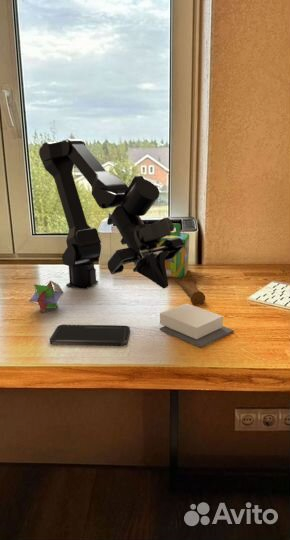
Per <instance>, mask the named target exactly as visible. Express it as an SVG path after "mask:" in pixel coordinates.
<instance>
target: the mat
mask: <svg viewBox="0 0 290 540" xmlns="http://www.w3.org/2000/svg"><path fill="white" fill-rule="evenodd" d="M159 330H160V331H162V332H164V333H166V334H169V335H171V336H174V337H175V338H177V339H180V340H182V341H185V342H187V343H189V344H192V345H193V346H196V347H198V348H201V349H203V348H204V347H206V346H209V345H211V344H212V343H215V342H216V341H218V340H220V339H222V338H225V337H227V336H228V335H231V334H232V333H234V332H235V331H234V329H232V328H229V327H226V326H224V325H223V326H222V328H220V329H217V330H215V331H213V332H211V333H209V334H207V335H205V336H203V337H201V338H199V339H194V338H192V337H189V336H187V335H185V334H182V333H180V332H178V331H175V330H173V329H171V328H168V327H166V326H161V327H160V328H159Z"/></svg>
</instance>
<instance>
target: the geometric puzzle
mask: <svg viewBox="0 0 290 540" xmlns="http://www.w3.org/2000/svg"><path fill="white" fill-rule="evenodd" d="M46 284H47V285H46ZM33 287H34V289H35V293H34V294H33V293H31V296H30V298H29V302H30V303H31V304H35V305H37V306H39V309H40V313H41V314H44V313H47V312H51V311H52V310H49V309H50V308H52V309H59V306H60V305H59V304H61V299H62V296H63V294H64V290H63V289H62V288H61V286H60V285H59V284H58V283H56V282H54V281H52V280H49V281H48V282H46V283H45V284H43V285H42V284H34V285H33ZM32 294H33V295H32ZM59 299H60V302H59V304H58V301H59ZM46 308H47V309H46ZM45 309H46V310H45Z"/></svg>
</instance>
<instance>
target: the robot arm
mask: <svg viewBox="0 0 290 540" xmlns="http://www.w3.org/2000/svg"><path fill="white" fill-rule="evenodd" d="M38 152H39V159H40V160H41V162H42V164H43V167H44V170H46V171H47V173H48V174H50V176H51V177H53V179H54V182H55V186H56V190H57V193H58V195H59V199H60V202H61V207H62V210H63V213H64V216H65V220H66V224H67V227H68V232H67V236H66V239H65V240H66V241H65V242H66V246H67V247H66V248H65V250H64V252H63V253H62V255H61V260H62V264H63V265H65V266H67V267H68V275H69V276H68V277H69V278H68V279H69V282H68V283H66V285H65V286H66V287H70V288H76V289H82V290H86V289H89V288H91V287H93V286H95V285H97V284H99V280H97V272H96V271H97V269H96V268H95V263H98V262H99V261H100V256H101V252H102V244H101V243H102V241H101V239H100V237H99V231H98V229H97V228H96V227H91V226H90V225H89V224H88V221H87V219H86V216H85V212H84V209H83V206H82V202H81V199H80V195H79V192H78V191H79V190H78V189H77V185H76V181H75V179H74V175H73V169H74V167H76V168H77V170H78V171H79V173H80V174H81V175H82V176H83V177H84V179H85V180H86V181H87V182H88V183H89V185H90V186H91V196H92V197H93V199H94V200H95V202H96V204H97V205H98V207H99V208H100V209H105V210H106V209H113V208H114V209H113V210H112V212H109V213H108V218H107V221H106V222H107V225H108V226H109V225H115V227H116V229H117V230H118V232H119V234H120V237H122V238H121V239H120V243H121V245H123V246H124V245H126V246H127V247H125V248H121V249H117V250H116V251H115V252H114V253H113V254H112V256H111V257H110V258H109V260H108V262H107V268H108V271H109V273H110V274H111V275H116V274H119V273H123V271H124V265H127V264H131V263H133V265H134V268H133V269H132V271H133V273H138V274H140V275H142V276H144V277H145V278H147V279H148V280H150V281H152V282H153V283H155V284H156V285H157V286H159V287H161V288H162V289H163V290H164V289H167V288H168V287H169V286H170V285H169V281H168V277H167V274H166V269H165V260H169V259H171V258H173V257H174V256H175V255H176V254H177V253H178V252H179V251H180V250H181V249H182V248H183V247H184V246H185V245H184V243H183V241H182V240H181V238H178V237H175V238H170V239H166V240H165V241H164V242H163V244H162V245H161V246H160V247H157V246H156V245H157V244H159V243H160V242H161V239H160V238H163V237H165V236H170V235H171V232H174V230H175V228H174V225H173V224H174V223H173V221H172V220H171V219H170V218H169V217H163V218H162V219H158V221H156V222H153V223H144V221H143V219H142V218H141V217H142V216H145V215H146V214H147V213H148V212H149V211H150V209H151V208H152V206H154V204H155V202H156V201H157V200H158V199H159V198H160V194H161V193H160V190H159V188H158V186H157V185H155V184H154V183H153V182H151V181H150V180H147V179H145V177H143V175H134V177H133V179H132V180H131V183H130V184H129V186H128V184H126V182H124V180H122V179H121V178H119V177H117V176H115V175H113V174H111V173H109V172H108V171H107V170H106V169H105V168H104V166H102V164H101V163H100V161H98V160H97V158H96V157H95V156H94V155H93V154H92V152H91V151H90V150H89V149H88V147H87V146H86V143H85V142H84V140H83V139H80V138H79V139H78V138H76V139H75V138H67V139H64V140H63V139H62V140H60V141H53V142H52V141H48V142H47V141H45V142H43V144H42V145H41V147H40V148H39V151H38Z"/></svg>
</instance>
